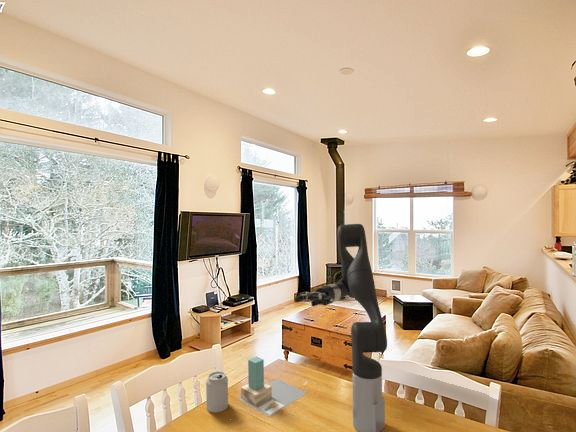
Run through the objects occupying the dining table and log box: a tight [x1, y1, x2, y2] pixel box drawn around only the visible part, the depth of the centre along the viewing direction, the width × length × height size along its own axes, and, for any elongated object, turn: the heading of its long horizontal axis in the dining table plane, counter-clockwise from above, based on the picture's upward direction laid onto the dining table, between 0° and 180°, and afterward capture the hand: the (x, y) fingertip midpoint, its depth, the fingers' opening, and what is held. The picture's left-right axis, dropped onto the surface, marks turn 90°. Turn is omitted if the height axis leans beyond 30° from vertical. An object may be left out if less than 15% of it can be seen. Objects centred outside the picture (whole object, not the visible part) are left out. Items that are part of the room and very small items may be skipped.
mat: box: [238, 378, 308, 418], centre depth 125 cm, size 16×20×1 cm
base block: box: [240, 382, 272, 406], centre depth 124 cm, size 8×8×4 cm
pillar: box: [247, 356, 265, 391], centre depth 124 cm, size 4×4×10 cm
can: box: [205, 371, 229, 414], centre depth 119 cm, size 8×8×12 cm
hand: (303, 301), depth 131 cm, fingers open, 8 cm apart
